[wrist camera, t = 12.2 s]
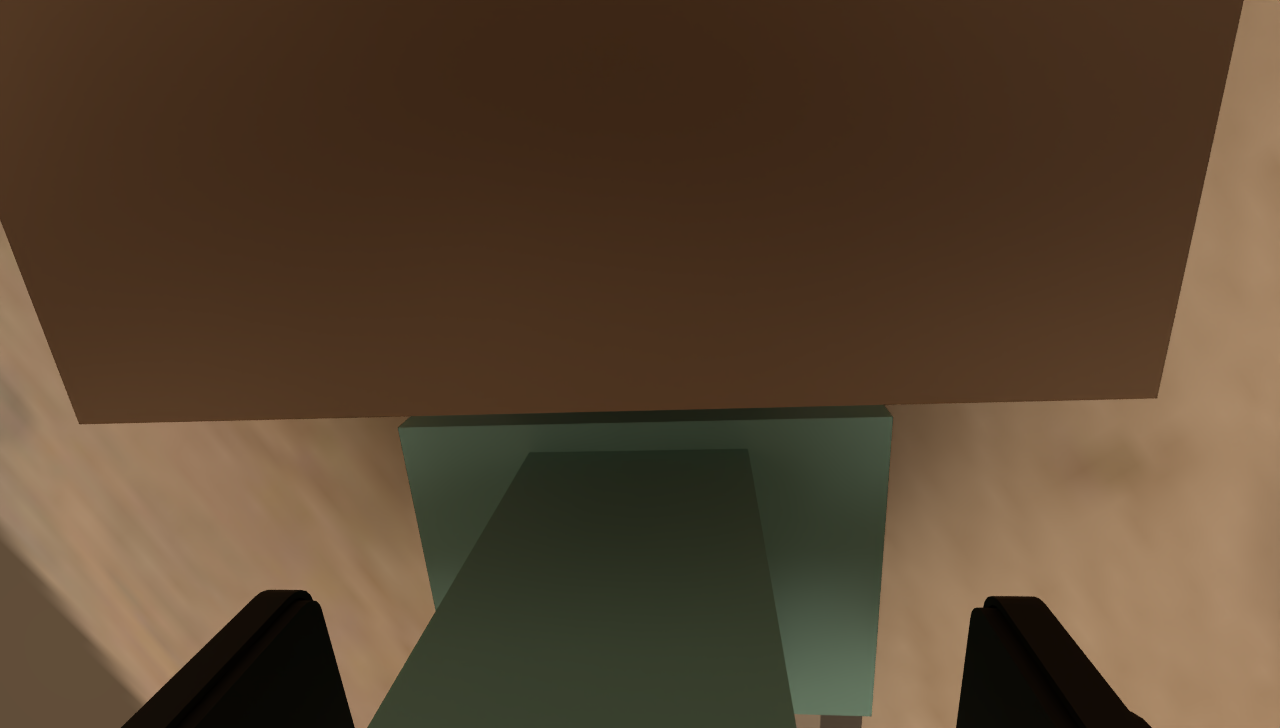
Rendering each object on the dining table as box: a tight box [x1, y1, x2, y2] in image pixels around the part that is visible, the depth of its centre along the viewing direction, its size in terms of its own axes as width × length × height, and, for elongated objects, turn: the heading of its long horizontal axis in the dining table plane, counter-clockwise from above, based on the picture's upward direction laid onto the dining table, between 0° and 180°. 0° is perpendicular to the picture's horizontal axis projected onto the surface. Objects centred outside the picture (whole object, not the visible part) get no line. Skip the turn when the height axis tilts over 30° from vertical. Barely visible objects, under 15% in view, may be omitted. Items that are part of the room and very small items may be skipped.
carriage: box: [367, 405, 893, 728], centre depth 8 cm, size 6×8×8 cm
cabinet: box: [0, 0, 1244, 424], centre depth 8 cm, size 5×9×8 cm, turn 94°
